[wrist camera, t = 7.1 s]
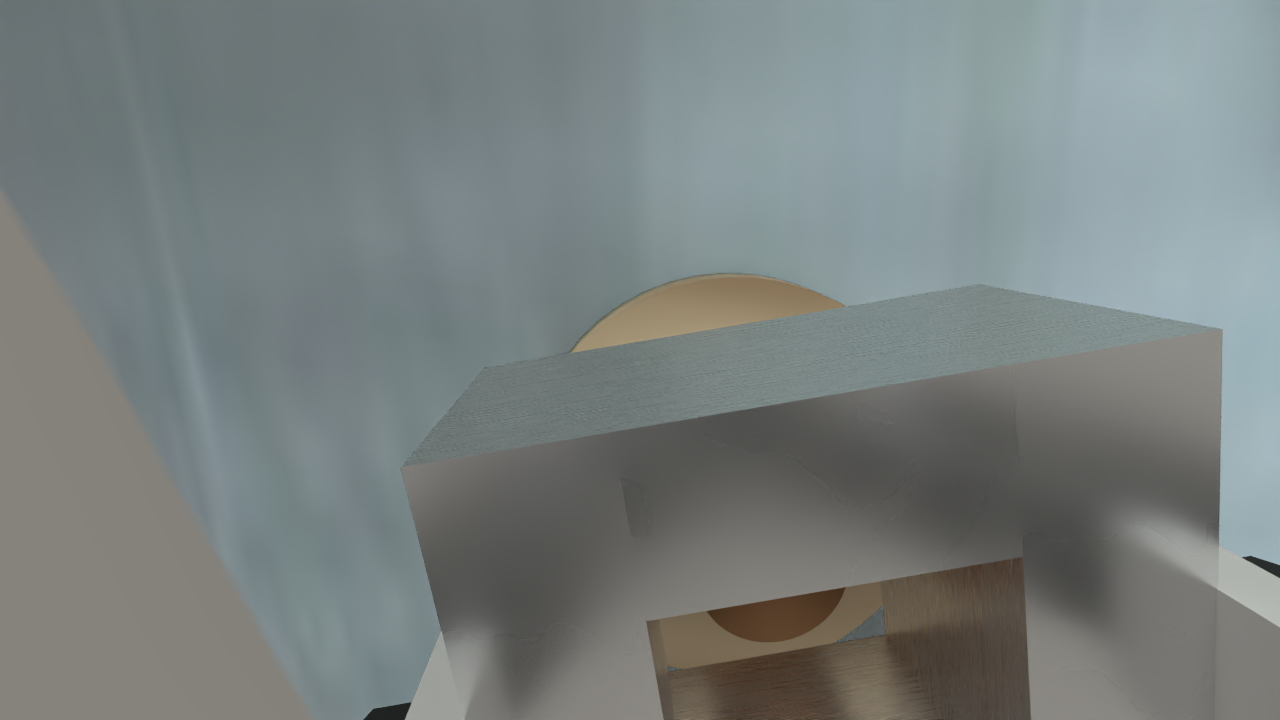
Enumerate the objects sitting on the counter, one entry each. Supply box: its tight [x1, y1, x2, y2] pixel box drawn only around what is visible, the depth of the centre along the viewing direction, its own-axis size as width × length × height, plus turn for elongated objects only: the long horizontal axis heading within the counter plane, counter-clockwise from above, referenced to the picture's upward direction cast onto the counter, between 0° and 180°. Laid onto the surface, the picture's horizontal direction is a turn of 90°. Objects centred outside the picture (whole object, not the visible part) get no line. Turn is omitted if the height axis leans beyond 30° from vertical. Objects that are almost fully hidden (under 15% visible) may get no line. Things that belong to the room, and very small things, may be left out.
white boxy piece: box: [401, 284, 1222, 720], centre depth 11 cm, size 9×9×5 cm
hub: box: [569, 273, 883, 669], centre depth 15 cm, size 10×10×6 cm
